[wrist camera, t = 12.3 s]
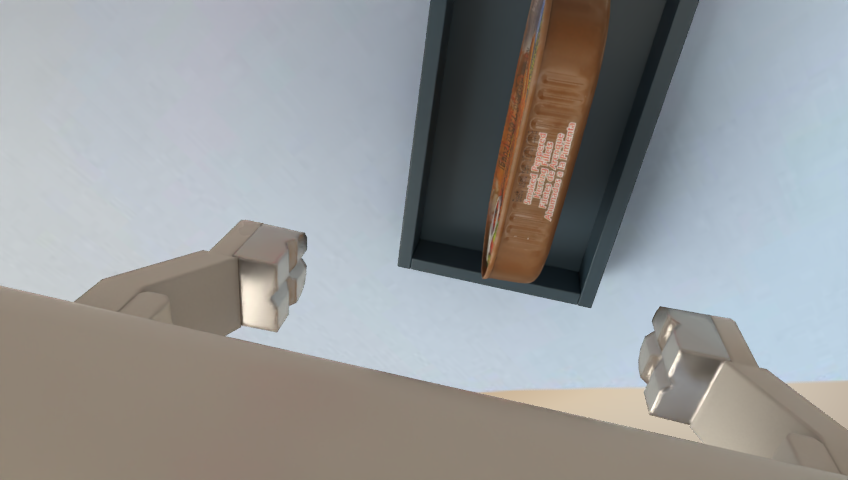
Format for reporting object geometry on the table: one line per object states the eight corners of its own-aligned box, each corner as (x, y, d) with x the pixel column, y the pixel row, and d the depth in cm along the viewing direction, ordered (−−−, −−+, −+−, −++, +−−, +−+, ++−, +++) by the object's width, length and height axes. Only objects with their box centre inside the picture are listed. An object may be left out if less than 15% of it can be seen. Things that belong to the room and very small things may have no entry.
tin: (541, -47, 26) (539, -41, 19) (607, -37, 26) (633, -26, 19) (482, 229, 34) (465, 309, 26) (533, 239, 33) (530, 323, 26)
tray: (407, 242, 36) (397, 266, 33) (456, -127, 26) (447, -134, 23) (587, 280, 34) (591, 308, 32) (713, -91, 24) (732, -95, 22)
